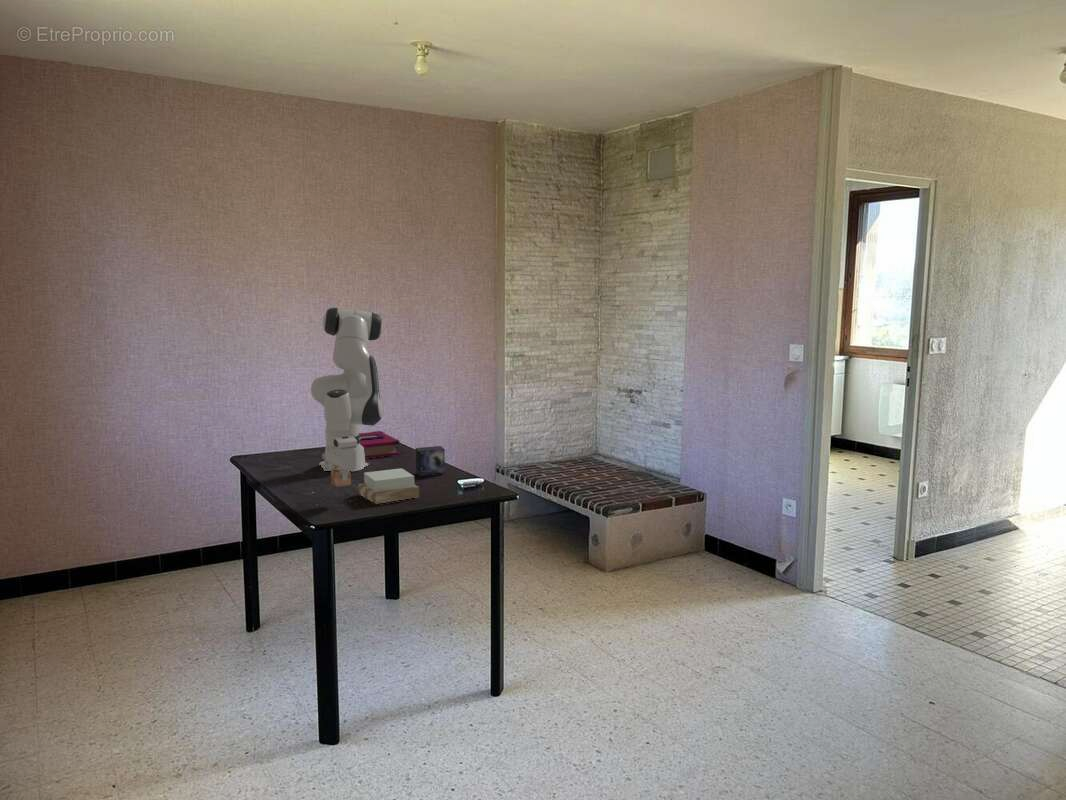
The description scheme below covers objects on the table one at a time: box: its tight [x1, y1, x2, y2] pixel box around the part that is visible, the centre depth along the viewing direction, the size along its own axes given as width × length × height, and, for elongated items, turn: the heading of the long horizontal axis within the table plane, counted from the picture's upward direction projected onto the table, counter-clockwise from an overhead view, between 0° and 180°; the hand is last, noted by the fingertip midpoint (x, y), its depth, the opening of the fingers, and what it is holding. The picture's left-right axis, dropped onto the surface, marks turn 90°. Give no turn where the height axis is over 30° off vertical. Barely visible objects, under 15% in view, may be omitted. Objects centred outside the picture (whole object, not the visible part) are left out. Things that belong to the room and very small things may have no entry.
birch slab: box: [358, 483, 420, 505], centre depth 270 cm, size 16×16×4 cm
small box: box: [415, 445, 446, 477], centre depth 303 cm, size 11×6×10 cm, turn 112°
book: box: [359, 430, 401, 458], centre depth 345 cm, size 21×28×8 cm
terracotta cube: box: [330, 468, 352, 487], centre depth 260 cm, size 5×5×5 cm
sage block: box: [363, 467, 416, 492], centre depth 270 cm, size 14×14×4 cm
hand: (341, 478), depth 260 cm, fingers closed on terracotta cube, 5 cm apart
